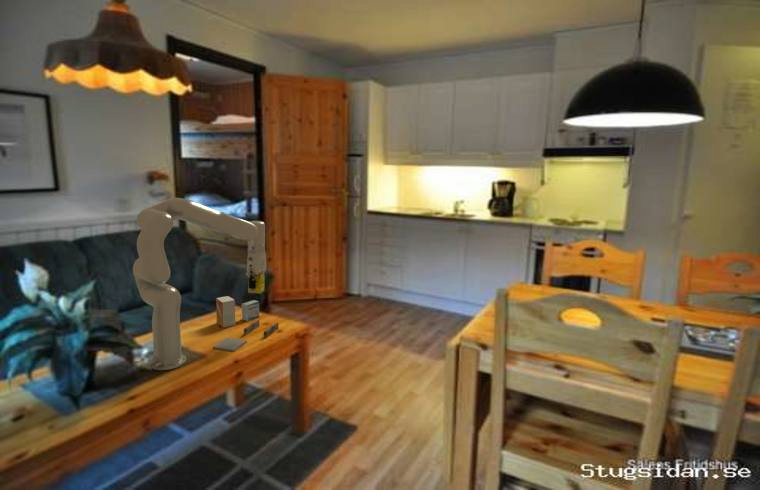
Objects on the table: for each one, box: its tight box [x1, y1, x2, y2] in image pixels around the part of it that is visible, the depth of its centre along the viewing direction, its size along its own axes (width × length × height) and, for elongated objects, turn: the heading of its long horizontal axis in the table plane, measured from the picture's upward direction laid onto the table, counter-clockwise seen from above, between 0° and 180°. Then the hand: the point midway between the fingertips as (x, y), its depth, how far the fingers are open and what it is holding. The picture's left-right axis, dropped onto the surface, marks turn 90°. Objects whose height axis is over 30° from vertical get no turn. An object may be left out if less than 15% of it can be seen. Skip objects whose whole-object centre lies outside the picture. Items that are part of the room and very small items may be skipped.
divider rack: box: [243, 319, 279, 339], centre depth 197 cm, size 12×11×3 cm
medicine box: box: [241, 299, 260, 322], centre depth 213 cm, size 8×4×9 cm, turn 150°
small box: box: [215, 295, 236, 329], centre depth 203 cm, size 8×6×13 cm
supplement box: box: [247, 271, 265, 296], centre depth 190 cm, size 6×6×11 cm
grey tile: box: [212, 337, 248, 352], centre depth 181 cm, size 10×10×1 cm
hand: (256, 286), depth 190 cm, fingers closed on supplement box, 6 cm apart
